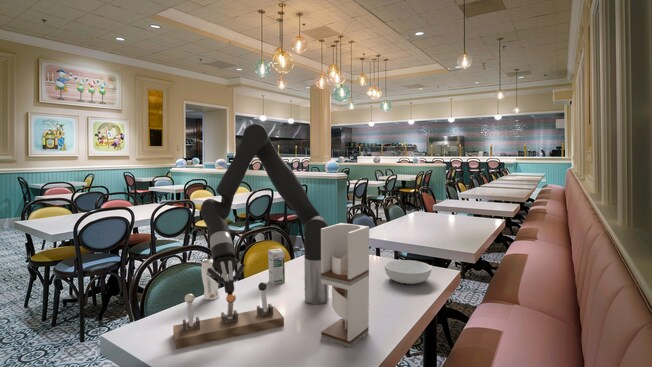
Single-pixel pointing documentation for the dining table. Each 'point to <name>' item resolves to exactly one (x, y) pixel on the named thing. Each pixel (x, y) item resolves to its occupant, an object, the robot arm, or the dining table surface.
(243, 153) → the robot arm
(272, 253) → the syrup box
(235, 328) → the switch panel
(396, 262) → the serving bowl
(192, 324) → the cream lever
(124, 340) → the dining table surface
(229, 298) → the orange lever
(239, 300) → the dining table surface
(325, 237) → the display case
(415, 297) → the dining table surface
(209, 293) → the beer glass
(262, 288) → the black lever
